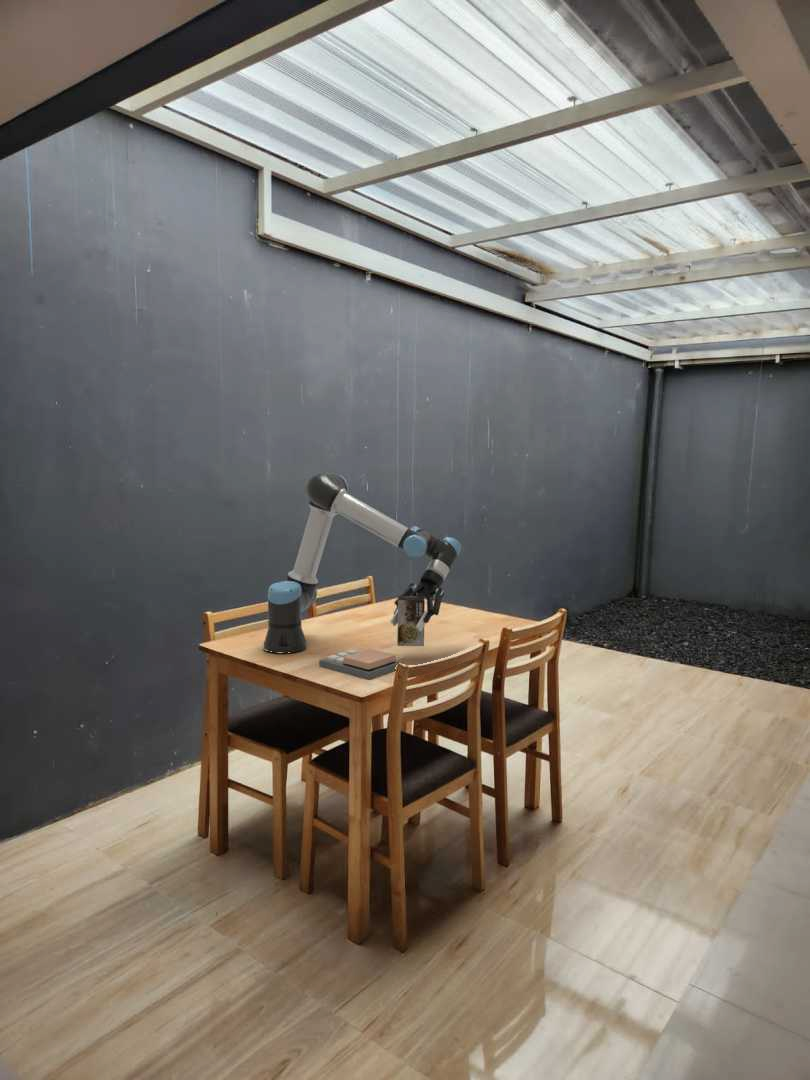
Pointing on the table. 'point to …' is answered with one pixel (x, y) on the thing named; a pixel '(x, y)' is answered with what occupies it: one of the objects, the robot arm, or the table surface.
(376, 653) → the reddish brown flat slab
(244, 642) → the table surface
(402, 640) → the coffee box
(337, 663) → the keypad
